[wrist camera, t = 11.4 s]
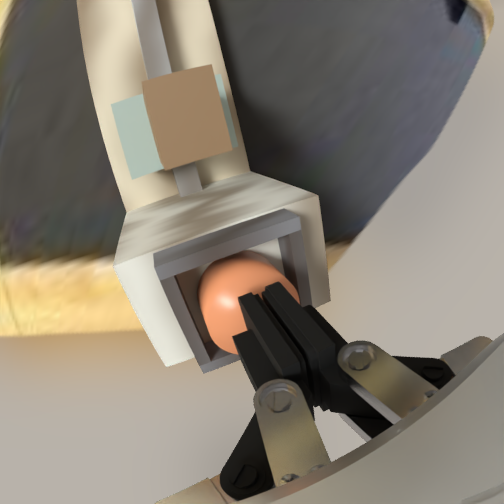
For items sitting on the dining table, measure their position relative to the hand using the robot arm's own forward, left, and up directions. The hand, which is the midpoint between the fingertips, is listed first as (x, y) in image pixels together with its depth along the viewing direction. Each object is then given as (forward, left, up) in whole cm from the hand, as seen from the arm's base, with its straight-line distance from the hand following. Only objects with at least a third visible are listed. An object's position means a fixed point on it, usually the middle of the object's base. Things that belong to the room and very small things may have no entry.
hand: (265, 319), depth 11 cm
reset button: (0, 0, -3) cm, 3 cm away
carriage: (0, -8, -13) cm, 15 cm away
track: (0, -11, -15) cm, 18 cm away
